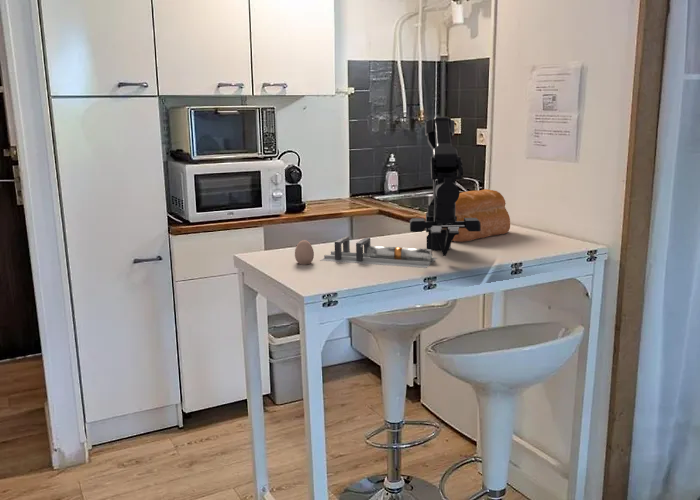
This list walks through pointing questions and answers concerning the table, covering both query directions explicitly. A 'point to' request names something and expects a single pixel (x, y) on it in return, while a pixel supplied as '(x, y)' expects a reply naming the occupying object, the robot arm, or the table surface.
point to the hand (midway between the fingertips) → (444, 255)
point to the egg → (304, 252)
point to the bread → (482, 214)
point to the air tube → (399, 253)
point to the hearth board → (376, 260)
